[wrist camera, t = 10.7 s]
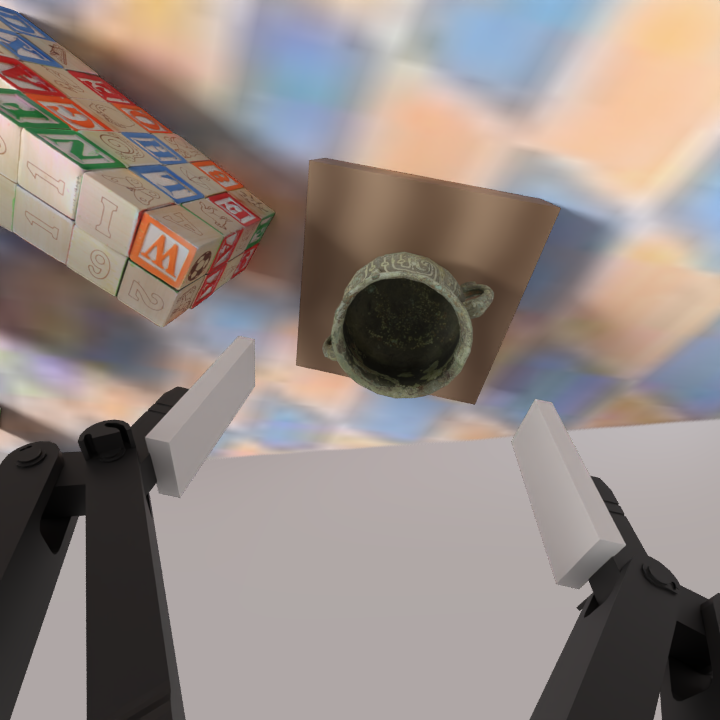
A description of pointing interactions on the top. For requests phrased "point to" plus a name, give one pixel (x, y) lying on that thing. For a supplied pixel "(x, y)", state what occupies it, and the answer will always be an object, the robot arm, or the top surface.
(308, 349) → the walnut block
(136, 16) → the top surface
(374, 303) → the vessel
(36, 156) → the stack of blocks
